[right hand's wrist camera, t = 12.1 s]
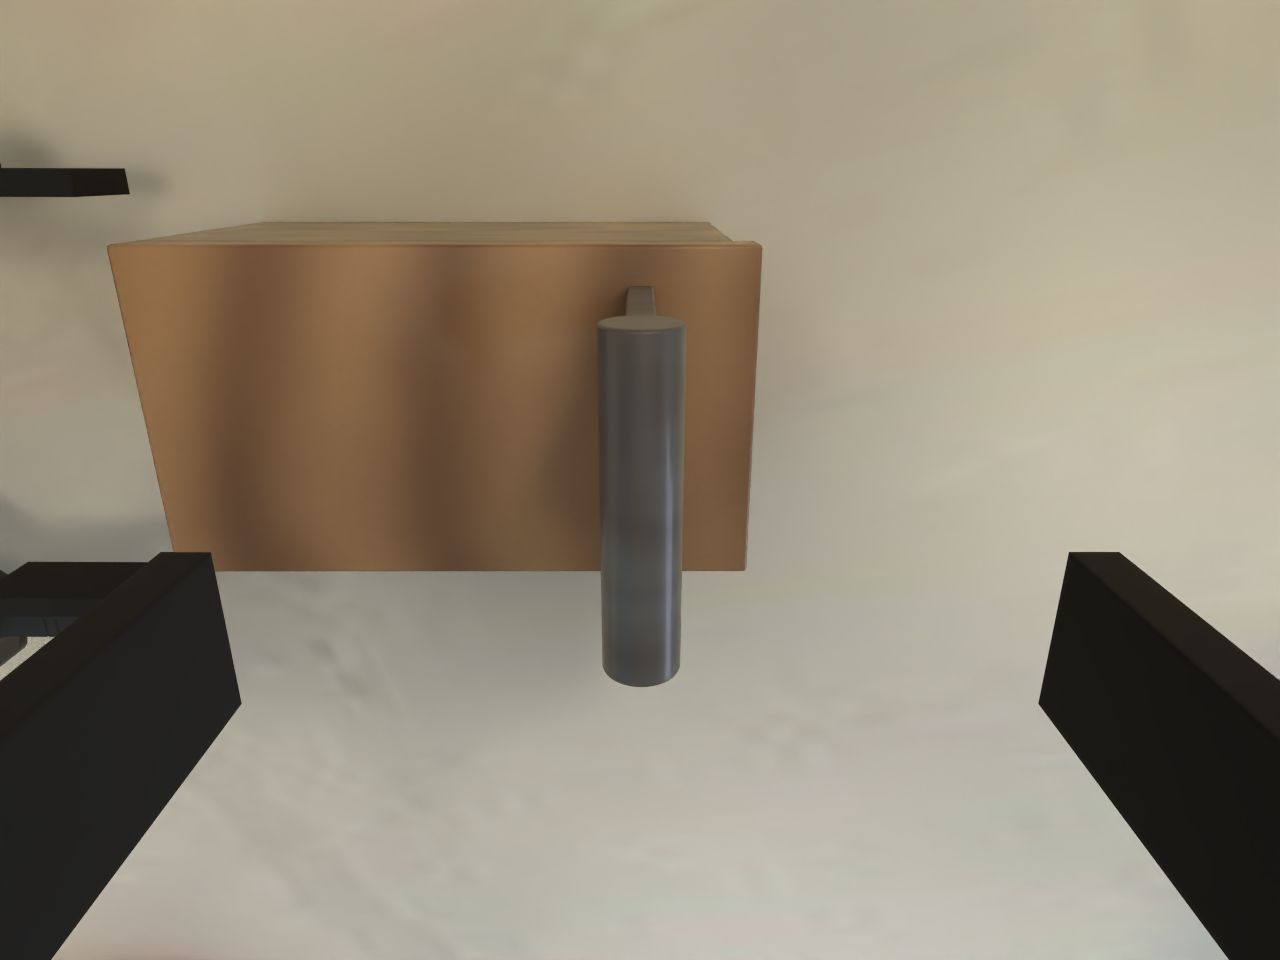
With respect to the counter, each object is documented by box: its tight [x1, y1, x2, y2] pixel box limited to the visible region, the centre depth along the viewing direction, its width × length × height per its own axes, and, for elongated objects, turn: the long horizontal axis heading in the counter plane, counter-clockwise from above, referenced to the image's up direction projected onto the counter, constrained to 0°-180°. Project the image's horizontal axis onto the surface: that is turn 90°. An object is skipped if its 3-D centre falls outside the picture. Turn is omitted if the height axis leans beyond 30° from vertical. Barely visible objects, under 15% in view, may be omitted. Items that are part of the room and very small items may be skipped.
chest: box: [138, 222, 732, 241], centre depth 29 cm, size 17×10×9 cm, turn 90°
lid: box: [107, 241, 762, 687], centre depth 21 cm, size 17×10×8 cm, turn 90°
